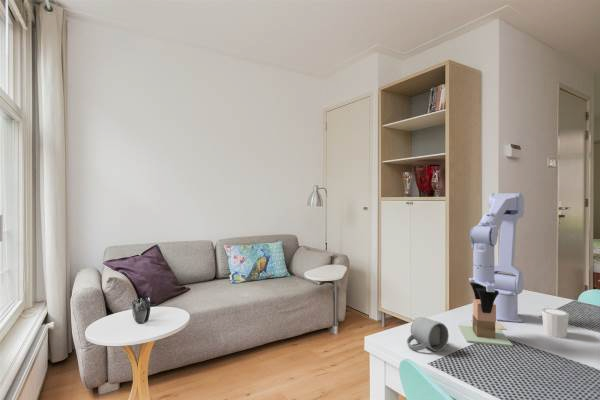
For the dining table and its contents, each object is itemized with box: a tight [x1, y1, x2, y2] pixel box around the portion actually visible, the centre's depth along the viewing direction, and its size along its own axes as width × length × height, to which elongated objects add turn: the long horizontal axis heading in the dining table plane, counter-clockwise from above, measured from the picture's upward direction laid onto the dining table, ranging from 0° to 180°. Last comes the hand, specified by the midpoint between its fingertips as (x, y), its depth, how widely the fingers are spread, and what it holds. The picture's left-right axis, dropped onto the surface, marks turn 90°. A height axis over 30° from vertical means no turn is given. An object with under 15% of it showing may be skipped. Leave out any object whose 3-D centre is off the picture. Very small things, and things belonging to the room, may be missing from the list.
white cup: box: [541, 307, 570, 339], centre depth 103 cm, size 7×7×7 cm
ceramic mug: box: [406, 316, 449, 352], centre depth 95 cm, size 11×8×8 cm
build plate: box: [457, 325, 514, 347], centre depth 102 cm, size 12×12×1 cm
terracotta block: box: [472, 298, 497, 322], centre depth 102 cm, size 5×5×5 cm
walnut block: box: [472, 314, 495, 338], centre depth 102 cm, size 5×5×5 cm
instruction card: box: [470, 319, 507, 331], centre depth 111 cm, size 6×9×1 cm, turn 76°
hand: (483, 309), depth 102 cm, fingers open, 5 cm apart
